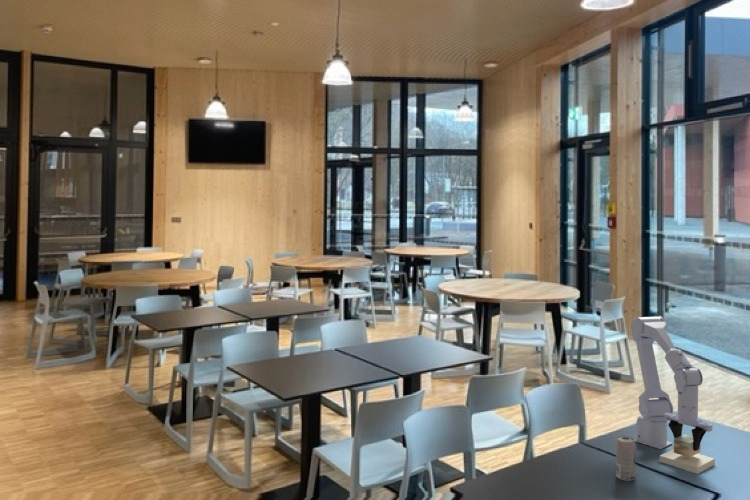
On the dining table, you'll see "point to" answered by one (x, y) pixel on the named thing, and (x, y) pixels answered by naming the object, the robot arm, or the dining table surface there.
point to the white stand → (688, 461)
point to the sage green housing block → (685, 446)
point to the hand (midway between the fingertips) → (687, 447)
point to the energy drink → (625, 458)
